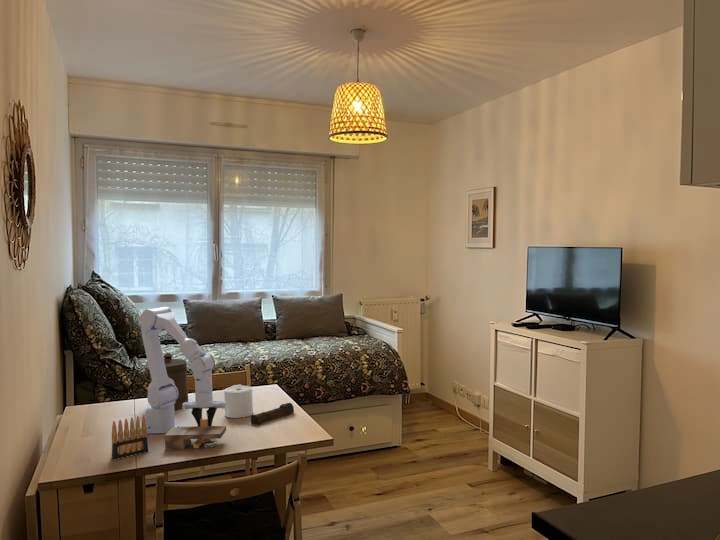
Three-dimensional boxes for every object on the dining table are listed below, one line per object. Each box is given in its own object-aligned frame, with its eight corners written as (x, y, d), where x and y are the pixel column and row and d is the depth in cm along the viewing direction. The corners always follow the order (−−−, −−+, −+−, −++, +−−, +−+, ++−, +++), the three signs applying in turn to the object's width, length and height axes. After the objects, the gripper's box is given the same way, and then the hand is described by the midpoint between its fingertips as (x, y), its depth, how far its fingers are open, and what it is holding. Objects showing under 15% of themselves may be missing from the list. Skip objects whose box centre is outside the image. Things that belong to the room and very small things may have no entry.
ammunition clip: (147, 450, 179) (145, 413, 179) (148, 452, 178) (147, 415, 177) (111, 458, 173) (110, 420, 173) (112, 459, 172) (111, 421, 171)
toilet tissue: (232, 420, 208) (231, 394, 207) (218, 413, 217) (218, 388, 217) (257, 414, 215) (257, 389, 214) (243, 407, 224) (242, 383, 223)
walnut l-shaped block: (165, 450, 179) (164, 435, 178) (173, 441, 187) (172, 427, 186) (220, 449, 179) (220, 433, 179) (226, 440, 187) (226, 425, 187)
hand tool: (256, 426, 201) (255, 414, 201) (250, 424, 204) (249, 411, 204) (297, 415, 214) (297, 403, 214) (291, 412, 217) (291, 401, 217)
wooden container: (180, 398, 239) (178, 348, 238) (194, 406, 227) (192, 353, 226) (145, 405, 229) (143, 353, 228) (158, 413, 218) (155, 358, 217)
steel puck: (202, 448, 181) (202, 443, 181) (205, 443, 185) (205, 438, 185) (214, 447, 181) (214, 442, 181) (217, 443, 185) (217, 438, 185)
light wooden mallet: (191, 448, 179) (190, 430, 179) (202, 433, 193) (202, 417, 192) (199, 448, 180) (198, 430, 179) (210, 433, 193) (209, 416, 192)
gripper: (227, 386, 195) (228, 424, 195) (186, 387, 194) (187, 425, 195) (222, 392, 188) (224, 431, 188) (179, 393, 187) (181, 432, 188)
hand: (205, 429), depth 191 cm, fingers closed on light wooden mallet, 3 cm apart
